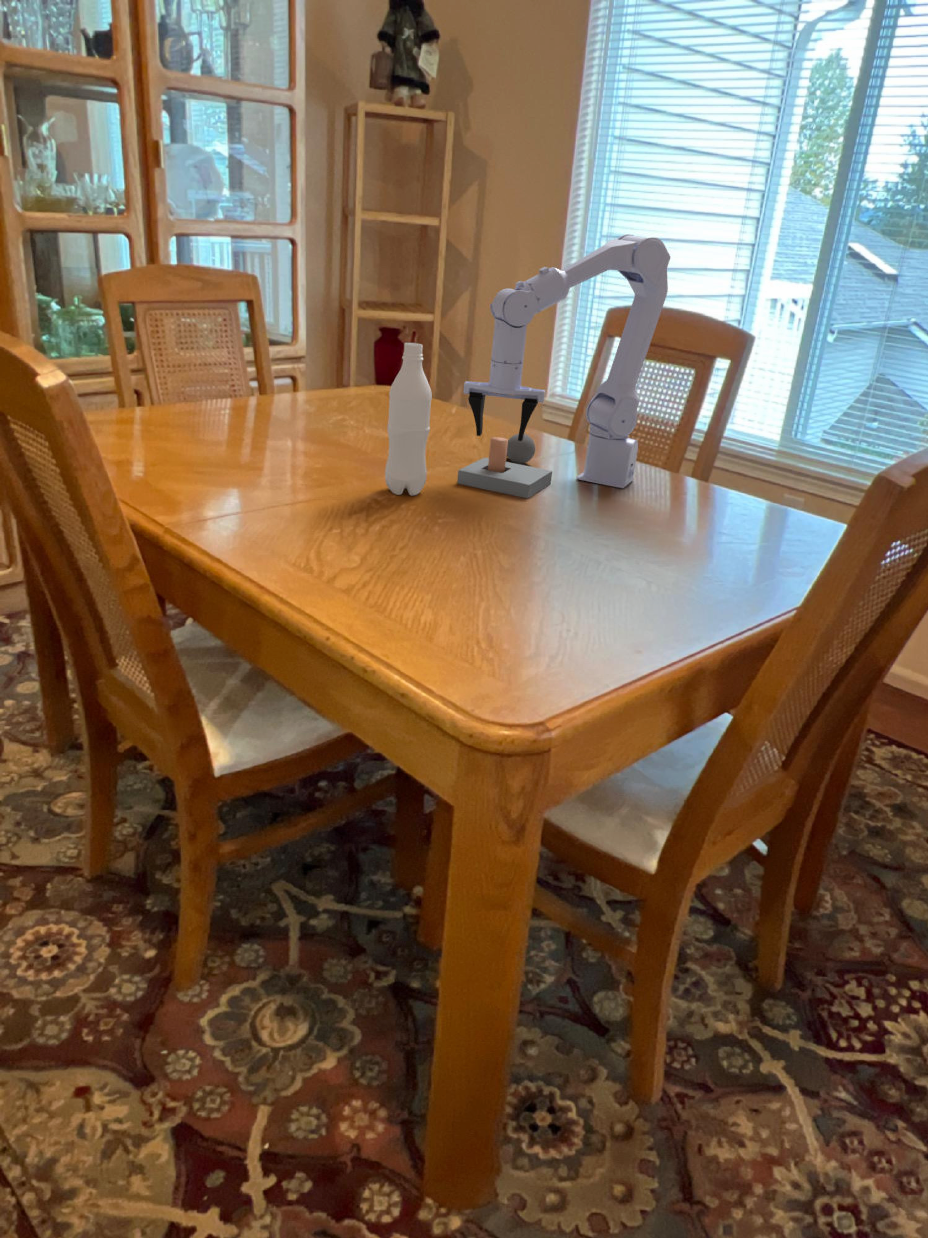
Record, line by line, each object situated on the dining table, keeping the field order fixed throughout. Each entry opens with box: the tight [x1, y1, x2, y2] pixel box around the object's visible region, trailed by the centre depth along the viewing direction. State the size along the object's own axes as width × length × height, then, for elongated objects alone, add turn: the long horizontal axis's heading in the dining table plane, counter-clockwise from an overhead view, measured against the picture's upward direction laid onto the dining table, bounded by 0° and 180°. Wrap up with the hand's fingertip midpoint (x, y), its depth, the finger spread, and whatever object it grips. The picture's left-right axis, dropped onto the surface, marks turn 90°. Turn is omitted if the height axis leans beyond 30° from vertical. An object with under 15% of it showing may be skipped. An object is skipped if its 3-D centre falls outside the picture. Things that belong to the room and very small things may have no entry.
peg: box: [488, 436, 509, 473], centre depth 165 cm, size 3×3×8 cm
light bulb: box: [506, 433, 536, 465], centre depth 181 cm, size 6×6×10 cm
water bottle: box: [384, 342, 433, 497], centre depth 150 cm, size 7×7×25 cm
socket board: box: [456, 457, 553, 499], centre depth 165 cm, size 14×12×2 cm
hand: (499, 437), depth 163 cm, fingers open, 7 cm apart
